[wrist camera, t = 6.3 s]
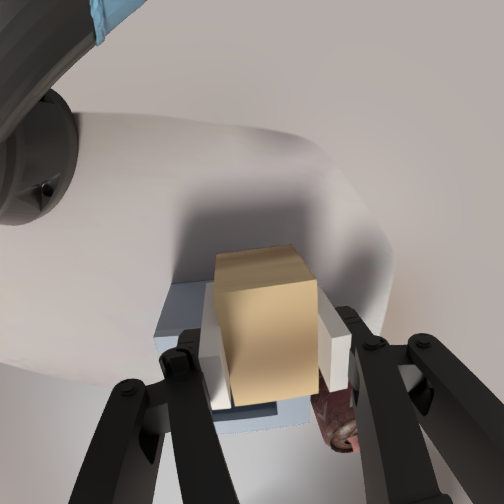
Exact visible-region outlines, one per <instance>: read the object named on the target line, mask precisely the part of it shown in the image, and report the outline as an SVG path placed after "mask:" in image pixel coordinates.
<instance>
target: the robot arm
mask: <svg viewBox="0 0 504 504" xmlns="http://www.w3.org/2000/svg"><path fill="white" fill-rule="evenodd" d="M146 1H147V0H0V224H2V225H12V226H15V225H22V224H26V223H29V222H31V221H33V220H36V219H38V218H40V217H42V216H44V215H45V214H47V213H48V212H49V211H51V210H52V209H53V208H54V207H55V206H56V205H57V204H58V203H59V201H60V200H61V199H62V197H63V196H64V194H65V192H66V190H67V189H68V186H69V184H70V182H71V179H72V177H73V173H74V170H75V166H76V160H77V152H78V138H77V129H76V124H75V120H74V117H73V115H72V112H71V110H70V108H69V106H68V105H67V103H66V102H65V100H64V99H63V98H62V97H61V96H60V95H59V94H58V93H57V92H55V91H54V90H53V89H51V87H52V85H54V83H55V82H56V81H57V80H58V79H59V78H60V77H61V76H62V75H63V74H64V73H65V72H66V71H68V69H70V68H71V67H72V66H73V65H74V64H75V63H76V62H77V61H78V60H79V59H80V58H82V56H84V55H85V54H86V53H87V52H88V51H89V50H91V49H92V48H93V47H94V46H95V45H96V46H99V45H100V44H101V43H102V42H103V41H104V39H105V36H106V35H107V34H109V33H110V32H111V31H112V30H113V29H114V28H115V27H116V26H117V25H119V24H120V23H121V22H122V21H123V20H124V19H126V18H127V17H128V16H129V15H130V14H132V13H133V12H134V11H136V10H137V9H138V8H140V7H141V6H142V5H143V4H144V3H145V2H146ZM213 288H214V282H210V283H206V289H205V298H204V307H203V316H202V326H201V328H196V329H186V330H183V332H182V333H181V334H180V335H179V337H178V341H177V346H176V347H174V348H171V349H168V350H166V351H165V352H163V353H162V354H161V356H160V357H159V363H160V366H161V369H162V372H163V375H164V378H165V379H164V380H162V381H160V382H157V383H155V384H151V385H147V386H145V384H144V383H143V381H141V380H139V379H126V380H123V381H121V382H119V383H118V384H117V385H116V386H115V387H114V388H113V390H112V392H111V395H110V397H109V399H108V402H107V404H106V406H105V409H104V411H103V413H102V416H101V418H100V421H99V423H98V425H97V428H96V430H95V433H94V436H93V438H92V440H91V443H90V446H89V448H88V451H87V453H86V456H85V458H84V461H83V464H82V466H81V469H80V472H79V475H78V477H77V480H76V483H75V485H74V488H73V491H72V494H71V497H70V500H69V503H68V504H152V502H153V496H154V491H155V485H156V479H157V474H158V468H159V463H160V458H161V453H162V447H163V442H164V437H165V433H168V432H171V436H172V443H173V449H174V456H175V462H176V468H177V474H178V479H179V484H180V490H181V495H182V500H183V504H240V503H239V500H238V497H237V494H236V492H235V489H234V486H233V483H232V480H231V477H230V474H229V471H228V468H227V464H226V461H225V458H224V455H223V452H222V448H221V445H220V442H219V439H218V435H217V432H216V428H215V425H214V422H213V418H212V415H211V411H210V404H211V407H212V410H217V409H228V408H231V393H230V376H229V371H228V366H227V361H226V356H225V351H224V346H223V340H222V335H221V329H220V326H219V324H218V319H217V313H216V308H215V302H214V297H213ZM317 294H318V312H317V322H318V366H319V368H320V370H321V373H322V375H323V377H324V380H325V382H326V385H327V387H328V389H329V392H333V391H338V390H342V389H346V388H347V387H348V379H349V381H350V383H351V385H352V391H351V399H350V407H352V405H353V409H354V415H355V421H356V427H357V433H358V440H359V447H360V453H361V460H362V468H363V476H364V484H365V492H366V501H367V504H453V502H452V500H451V498H450V496H449V495H448V494H443V493H441V492H440V490H439V488H438V484H437V480H436V477H435V473H434V470H433V466H432V463H431V460H430V457H429V453H428V450H427V447H426V444H425V441H424V438H423V434H422V431H421V429H420V426H419V424H420V425H421V427H422V428H423V430H424V431H425V432H426V434H427V435H428V437H429V438H430V440H431V441H432V442H433V444H434V446H435V447H436V448H437V450H438V451H439V453H440V454H441V456H442V457H443V459H444V460H445V462H446V463H447V465H448V466H449V468H450V469H451V471H452V472H453V474H454V475H455V477H456V478H457V480H458V481H459V483H460V484H461V486H462V487H463V489H464V490H465V492H466V493H467V495H468V497H469V498H470V500H471V501H472V503H473V504H504V404H503V403H502V402H501V401H500V400H499V399H498V398H497V397H496V396H495V395H494V394H493V393H492V392H491V391H490V390H489V389H488V388H487V387H486V386H485V385H484V384H483V383H482V382H481V381H480V380H479V379H478V378H477V377H476V376H475V375H474V374H473V373H472V372H471V371H470V370H469V369H468V368H467V367H466V366H465V365H464V364H463V363H462V362H461V361H460V360H459V359H458V358H457V357H456V356H455V355H454V354H452V352H451V351H450V350H449V349H447V348H446V347H445V346H444V345H443V344H442V343H441V342H440V341H439V340H438V339H437V338H436V337H434V336H432V335H429V334H425V333H419V334H415V335H413V336H411V337H410V338H409V340H408V344H407V345H389V343H388V342H387V340H386V339H384V338H382V337H380V336H376V335H373V334H372V332H371V331H370V330H369V328H368V327H367V326H366V324H365V323H364V322H363V320H362V319H361V318H360V317H359V315H358V314H357V312H356V311H355V310H354V309H352V308H350V307H348V306H342V307H337V308H334V307H333V305H332V304H331V302H330V301H329V299H328V298H327V296H326V295H325V293H324V292H323V290H322V289H321V287H320V286H319V284H318V283H317Z"/></svg>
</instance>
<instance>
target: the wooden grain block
mask: <svg viewBox="0 0 504 504" xmlns="http://www.w3.org/2000/svg"><path fill="white" fill-rule="evenodd" d="M213 297H214V302H215V308H216V313H217V319H218V324H219V326H220V329H221V335H222V340H223V346H224V351H225V356H226V361H227V366H228V371H229V376H230V385H231V390H232V394H233V399H234V404H235V406H243V405H251V404H259V403H266V402H272V401H279V400H285V399H291V398H297V397H302V396H307V395H312V394H317V393H318V391H319V366H318V322H317V312H318V294H317V279H316V277H315V276H314V275H313V273H312V272H311V270H310V269H309V268H308V266H307V265H306V263H305V262H304V261H303V259H302V258H301V257H300V255H299V254H298V252H297V251H296V250H295V248H294V247H293V246H292V244H289V245H282V246H274V247H267V248H259V249H251V250H244V251H236V252H229V253H221V254H216V262H215V275H214V288H213Z"/></svg>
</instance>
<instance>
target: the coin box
mask: <svg viewBox="0 0 504 504" xmlns="http://www.w3.org/2000/svg"><path fill="white" fill-rule="evenodd" d="M210 282H214V280H207V281H197V282H188V283H178V284H171V286H170V289H169V292H168V295H167V298H166V301H165V303H164V306H163V309H162V312H161V315H160V318H159V321H158V324H157V327H156V331H155V334H154V337H153V338H154V342H155V345H156V349H157V352H158V356H159V357H160V356H161V354H162V353H163V352H165V351H166V350H168V349H171V348H174V347H176V346H177V341H178V337H179V335H180V334H181V333H182V332H183V330H186V329H196V328H201V326H202V316H203V307H204V298H205V289H206V283H210ZM230 393H231V408H228V409H217V410H212V407H211V404H210V411H211V415H212V418H213V422H214V425H215V428H216V432H217V435H218V434H229V433H230V434H231V433H241V432H251V431H259V430H267V429H273V428H281V427H287V426H294V425H300V424H305V423H309V418H310V395H307V396H302V397H297V398H291V399H285V400H279V401H272V402H266V403H259V404H251V405H243V406H235V404H234V399H233V394H232V390H231V385H230Z"/></svg>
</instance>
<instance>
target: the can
mask: <svg viewBox="0 0 504 504" xmlns="http://www.w3.org/2000/svg"><path fill="white" fill-rule="evenodd" d="M351 391H352V385H351V383H350V381H349V379H348V387H347V388H346V389H342V390H338V391H333V392H329V389H328V387H327V385H326V382H325V380H324V377H323V375H322V373H321V370H320V368H319V391H318V393H317V394H312V395H310V401H311V404H312V407H313V410H314V413H315V416H316V419H317V422H318V425H319V427H320V430H321V433H322V436H323V439H324V441H325V443H326V444H327V445H328V446H330V447H331V449H332V450H334V451H335V452H339V453H351V452H358V451H360V447H359V440H358V433H357V427H356V421H355V415H354V409H353V405H352V407H350V399H351Z"/></svg>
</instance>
